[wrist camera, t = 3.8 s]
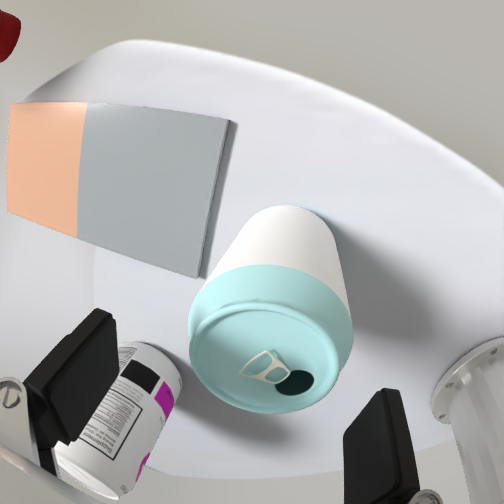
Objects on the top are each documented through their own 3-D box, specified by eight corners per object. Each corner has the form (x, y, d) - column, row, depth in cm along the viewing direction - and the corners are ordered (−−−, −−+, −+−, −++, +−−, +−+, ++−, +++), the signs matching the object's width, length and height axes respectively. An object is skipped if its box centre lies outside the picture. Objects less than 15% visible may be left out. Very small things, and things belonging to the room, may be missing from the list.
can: (339, 205, 20) (375, 294, 9) (330, 297, 22) (338, 428, 11) (237, 201, 21) (159, 279, 10) (239, 290, 23) (186, 410, 12)
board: (229, 119, 19) (227, 119, 18) (198, 275, 24) (196, 279, 23) (15, 103, 20) (11, 103, 20) (10, 209, 25) (7, 211, 25)
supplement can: (200, 385, 29) (145, 508, 15) (150, 398, 31) (95, 496, 18) (148, 327, 27) (60, 447, 13) (104, 349, 30) (29, 443, 16)
